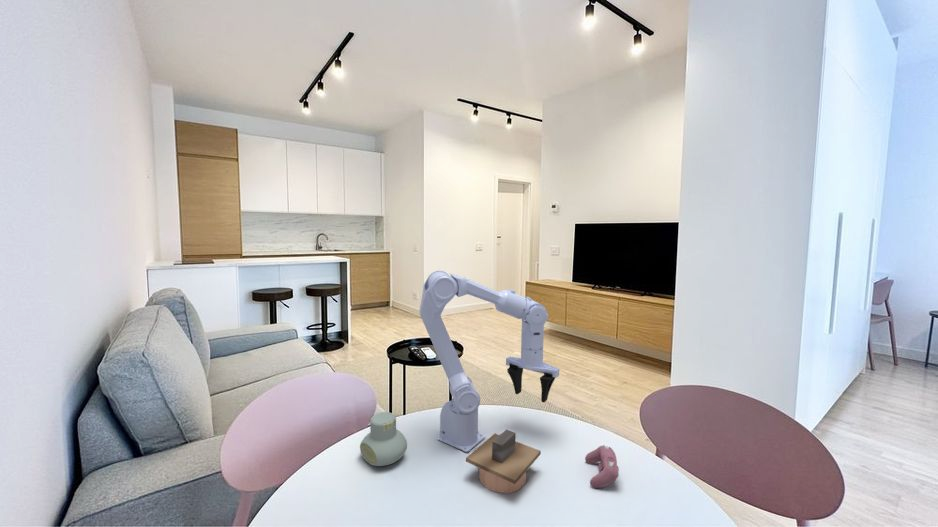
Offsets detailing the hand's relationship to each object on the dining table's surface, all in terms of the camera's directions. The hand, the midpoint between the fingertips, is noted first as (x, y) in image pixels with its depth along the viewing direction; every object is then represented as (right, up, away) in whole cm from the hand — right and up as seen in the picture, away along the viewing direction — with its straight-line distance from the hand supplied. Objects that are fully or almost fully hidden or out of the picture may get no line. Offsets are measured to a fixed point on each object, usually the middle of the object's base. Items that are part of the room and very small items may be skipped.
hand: (531, 396), depth 97 cm
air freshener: (-37, -11, -10) cm, 40 cm away
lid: (-9, -8, -16) cm, 20 cm away
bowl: (-9, -12, -16) cm, 22 cm away
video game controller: (+13, -12, -16) cm, 24 cm away
